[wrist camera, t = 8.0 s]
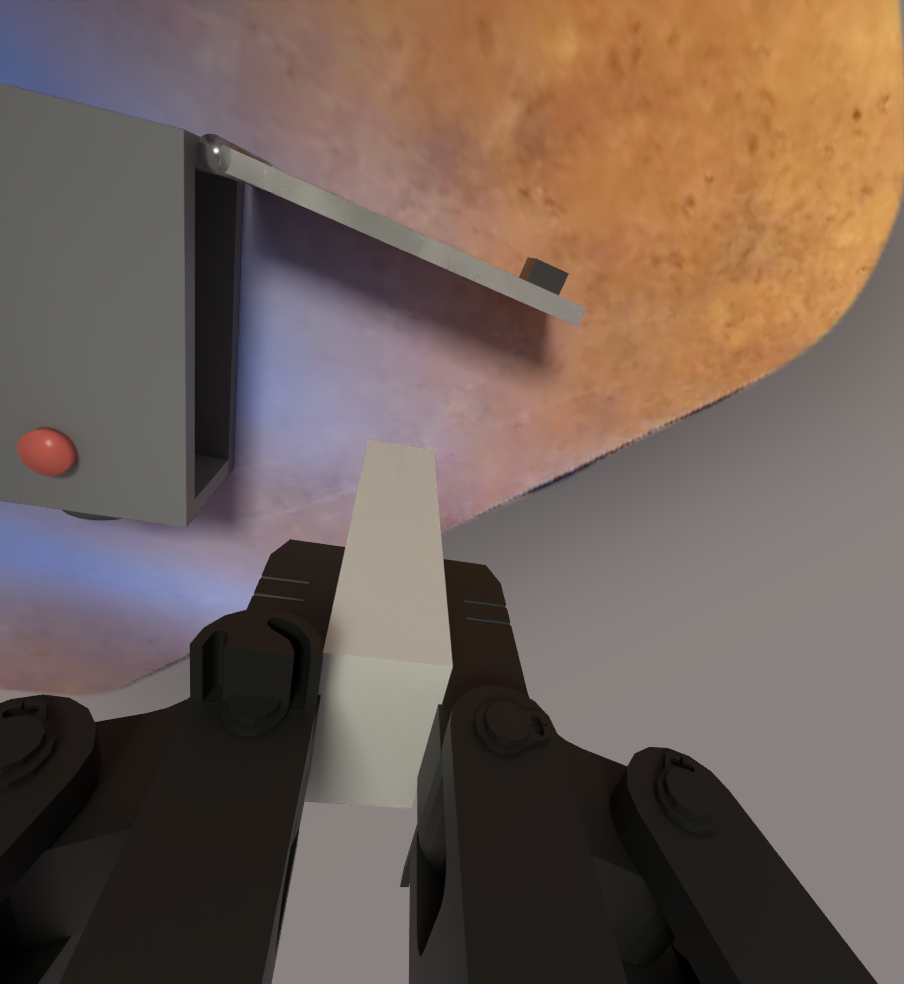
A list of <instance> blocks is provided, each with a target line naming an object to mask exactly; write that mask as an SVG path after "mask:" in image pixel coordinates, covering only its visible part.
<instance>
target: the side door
mask: <svg viewBox="0 0 904 984" xmlns="http://www.w3.org/2000/svg"><path fill="white" fill-rule="evenodd" d="M196 154H197V158H198V160H199V162H200V164H201V165H202V167H203V168H204V169H206V170H207V171H208V172H210V173H213V174H216V175H219V176H222V177H225V178H229V179H232V180H235V181H238V182H241V183H244V184H247V185H250V186H254V187H257V188H260V189H264V190H266V191H269V192H271V193H273V194H275V195H278V196H280V197H282V198H285V199H287V200H289V201H291V202H294V203H296V204H298V205H301V206H303V207H305V208H307V209H310V210H312V211H314V212H317V213H319V214H321V215H323V216H326V217H328V218H330V219H333V220H335V221H337V222H339V223H342V224H344V225H346V226H349V227H351V228H353V229H355V230H358V231H360V232H362V233H365V234H367V235H369V236H371V237H374V238H376V239H378V240H381V241H383V242H385V243H387V244H390V245H392V246H394V247H397V248H399V249H401V250H403V251H406V252H408V253H410V254H413V255H415V256H417V257H419V258H422V259H424V260H426V261H429V262H431V263H433V264H435V265H438V266H440V267H442V268H445V269H447V270H449V271H451V272H454V273H456V274H458V275H461V276H463V277H465V278H467V279H470V280H472V281H474V282H477V283H479V284H481V285H483V286H486V287H488V288H490V289H493V290H495V291H497V292H499V293H502V294H504V295H506V296H509V297H511V298H513V299H515V300H518V301H520V302H522V303H525V304H527V305H529V306H531V307H534V308H536V309H538V310H541V311H543V312H545V313H547V314H550V315H552V316H554V317H557V318H559V319H561V320H563V321H566V322H568V323H570V324H573V325H575V326H578V324H579V322H580V320H581V318H582V316H583V314H584V312H585V310H586V308H585V307H583V306H581V305H579V304H576V303H574V302H572V301H570V300H567V299H565V298H563V297H561V296H559V294H560V291H561V289H562V287H563V285H564V283H565V281H566V278H567V276H568V273H566V272H564V271H562V270H560V269H558V268H555V267H553V266H551V265H549V264H547V263H544V262H542V261H540V260H538V259H535V258H529V257H528V258H527V260H526V263H525V265H524V267H523V270H522V272H521V274H520V277H519V278H518V277H516V276H514V275H512V274H510V273H507V272H505V271H503V270H501V269H498V268H496V267H494V266H492V265H489V264H487V263H485V262H483V261H481V260H478V259H476V258H474V257H472V256H469V255H467V254H465V253H463V252H460V251H458V250H456V249H454V248H452V247H449V246H447V245H445V244H443V243H440V242H438V241H436V240H434V239H431V238H429V237H427V236H425V235H423V234H420V233H418V232H416V231H414V230H411V229H409V228H407V227H405V226H402V225H400V224H398V223H396V222H394V221H391V220H389V219H387V218H385V217H382V216H380V215H378V214H376V213H373V212H371V211H369V210H367V209H365V208H362V207H360V206H358V205H356V204H353V203H351V202H349V201H347V200H345V199H342V198H340V197H338V196H336V195H333V194H331V193H329V192H327V191H324V190H322V189H320V188H318V187H316V186H313V185H311V184H309V183H307V182H304V181H302V180H300V179H298V178H295V177H293V176H291V175H289V174H287V173H284V172H282V171H280V170H278V169H275V168H273V167H272V165H271V164H270V163H269V162H267V161H265V160H263V159H262V158H260V157H258V156H256V155H254V154H252V153H250V152H248V151H246V150H244V149H242V148H240V147H238V146H236V145H234V144H233V143H231V142H229V141H227V140H225V139H223V138H221V137H219V136H217V135H214V134H207V135H204V136H202V137H201V138H200V139H199V141H198V143H197V146H196Z"/></svg>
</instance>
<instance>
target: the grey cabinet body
mask: <svg viewBox="0 0 904 984" xmlns="http://www.w3.org/2000/svg"><path fill="white" fill-rule="evenodd" d="M200 138H201V137H199V136H197V135H194V134H192V133H190V132H188V131H186V130H184V129H180V128H176V127H172V126H168V125H164V124H160V123H156V122H152V121H148V120H144V119H140V118H137V117H133V116H129V115H125V114H121V113H117V112H113V111H109V110H105V109H101V108H97V107H93V106H89V105H85V104H81V103H77V102H73V101H69V100H65V99H61V98H57V97H54V96H50V95H46V94H42V93H38V92H34V91H30V90H26V89H22V88H18V87H14V86H10V85H6V84H2V83H0V501H6V502H13V503H20V504H27V505H33V506H40V507H47V508H54V509H61V510H62V511H64V512H65V513H67V514H69V515H71V516H74V517H78V518H82V519H89V520H116V519H130V520H137V521H144V522H151V523H158V524H164V525H171V526H178V527H185V528H187V526H188V525H189V524H190V523H191V521H192V520H193V519H194V518H195V516H196V515H197V514H198V513H199V511H200V510H201V509H202V508H203V506H204V505H205V504H206V502H207V501H208V500H209V499H210V497H211V496H212V495H213V494H214V492H215V491H216V490H217V489H218V487H219V486H220V485H221V484H222V482H223V481H224V480H225V479H226V477H227V476H228V475H229V474H230V472H231V471H232V470H233V469H234V441H235V413H236V385H237V357H238V329H239V302H240V274H241V246H242V218H243V190H244V183H241V182H238V181H235V180H232V179H229V178H225V177H222V176H219V175H216V174H213V173H210V172H208V171H207V170H206V169H204V168H203V167H202V165H201V164H200V162H199V160H198V158H197V154H196V146H197V143H198V141H199V139H200Z"/></svg>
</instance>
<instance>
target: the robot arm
mask: <svg viewBox="0 0 904 984" xmlns="http://www.w3.org/2000/svg"><path fill="white" fill-rule="evenodd" d="M442 552H443V551H442V540H441V529H440V518H439V506H438V495H437V484H436V473H435V462H434V451H432V450H426V449H421V448H415V447H409V446H403V445H398V444H392V443H386V442H380V441H375V440H369V439H368V444H367V449H366V453H365V458H364V463H363V467H362V472H361V477H360V481H359V486H358V491H357V496H356V500H355V505H354V510H353V514H352V519H351V524H350V528H349V533H348V538H347V542H346V547H340V546H333V545H326V544H319V543H312V542H305V541H298V540H291V539H290V540H289V541H288V542H286V543H285V544H284V545H282V546H281V547H280V548H279V549H277V550H276V551H275V552H273V553H272V554H271V555H270V557H269V560H268V562H267V564H266V566H265V569H264V571H263V573H262V577H261V579H260V580H259V582H258V585H257V587H256V589H255V592H254V596H252V598H251V601H250V603H249V605H248V608H247V610H244V611H240V612H236V613H232V614H229V615H225V616H223V617H221V618H220V619H218V620H216V621H214V622H213V623H211V624H209V625H207V626H206V627H204V628H203V629H202V630H201V632H200V633H199V634H198V635H197V636H196V638H195V639H194V640H193V641H192V642H191V643H190V695H191V696H190V698H188V699H187V700H184V701H182V702H180V703H177V704H175V705H173V706H171V707H169V708H165V709H161V710H157V711H153V712H150V713H145V714H139V715H133V716H128V717H122V718H116V719H110V720H105V721H99V722H94V720H93V718H92V716H91V713H90V711H89V709H88V708H86V707H84V706H83V705H81V704H79V703H78V702H76V701H74V700H72V699H71V698H67V697H59V696H51V695H36V696H30V697H23V698H16V699H10V700H7V701H5V702H2V703H0V984H271V983H272V978H273V972H274V967H275V961H276V956H277V950H278V945H279V940H280V935H281V929H282V923H283V919H284V913H285V907H286V902H287V897H288V891H289V886H290V880H291V876H292V870H293V864H294V859H295V854H296V848H297V841H298V834H299V827H300V821H301V816H302V811H303V806H304V802H319V803H334V804H335V803H336V804H350V805H365V806H381V807H396V808H412V804H413V802H414V798H415V795H416V791H417V803H418V804H417V815H418V817H417V818H418V819H417V820H418V823H417V826H416V830H415V833H414V836H413V840H412V843H411V846H410V850H409V853H408V856H407V859H406V863H405V866H404V870H403V875H402V880H401V885H400V887H409V883H410V927H409V984H878V983H877V982H876V981H875V980H874V978H873V977H872V976H871V974H870V973H869V972H868V970H867V969H866V968H865V966H864V965H863V964H862V963H861V961H860V960H859V959H858V958H857V956H856V955H855V954H854V952H853V951H852V950H851V948H850V947H849V946H848V944H847V943H846V942H845V941H844V939H843V938H842V937H841V935H840V934H839V933H838V932H837V930H836V929H835V928H834V926H833V925H832V924H831V922H830V921H829V920H828V918H827V917H826V916H825V914H824V913H823V912H822V911H821V909H820V908H819V907H818V906H817V904H816V903H815V901H814V900H813V899H812V898H811V896H810V895H809V894H808V892H807V891H806V890H805V889H804V887H803V886H802V885H801V883H800V882H799V881H798V879H797V878H796V877H795V876H794V874H793V873H792V872H791V870H790V869H789V868H788V866H787V865H786V864H785V863H784V861H783V860H782V859H781V857H780V856H779V855H778V854H777V852H776V851H775V850H774V848H773V847H772V846H771V844H770V843H769V842H768V840H767V839H766V838H765V837H764V835H763V834H762V833H761V831H760V830H759V829H758V827H757V826H756V825H755V824H754V822H753V821H752V820H751V819H750V817H749V816H748V815H747V813H746V812H745V811H744V809H743V808H742V807H741V805H740V804H739V803H738V801H737V800H736V799H735V798H734V796H733V795H732V794H731V792H730V791H729V790H728V789H727V788H726V787H725V786H724V785H723V784H722V782H721V781H720V780H719V779H718V778H717V777H716V776H715V775H714V774H713V773H712V772H711V771H710V770H708V769H707V768H705V767H704V766H703V765H701V764H699V763H698V762H697V761H695V760H694V759H692V758H691V757H690V756H687V755H685V754H682V753H679V752H677V751H674V750H671V749H669V748H658V747H648V748H646V749H644V750H641V751H639V752H637V753H635V754H634V756H633V758H632V759H631V761H630V763H629V765H628V766H624V765H622V764H620V763H617V762H615V761H612V760H609V759H607V758H604V757H602V756H599V755H597V754H594V753H592V752H589V751H587V750H584V749H581V748H580V747H578V746H576V745H574V744H572V743H570V742H568V741H566V740H564V739H563V738H562V737H560V736H559V735H558V734H557V733H556V730H555V728H554V726H553V724H552V722H551V720H550V718H549V716H548V715H547V714H546V713H545V712H544V711H543V710H542V709H541V708H540V707H539V706H538V705H537V703H536V702H535V701H533V700H532V699H530V698H529V696H528V693H527V689H526V684H525V681H524V676H523V672H522V668H521V664H520V660H519V656H518V652H517V648H516V644H515V640H514V635H513V632H512V627H511V626H510V620H509V615H508V611H507V608H505V606H506V603H505V599H504V595H503V591H502V586H501V583H500V582H499V581H498V580H497V578H496V577H495V576H494V575H493V573H492V572H491V571H490V570H489V569H488V567H487V566H486V565H481V564H474V563H467V562H460V561H453V560H446V559H443V553H442Z"/></svg>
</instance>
